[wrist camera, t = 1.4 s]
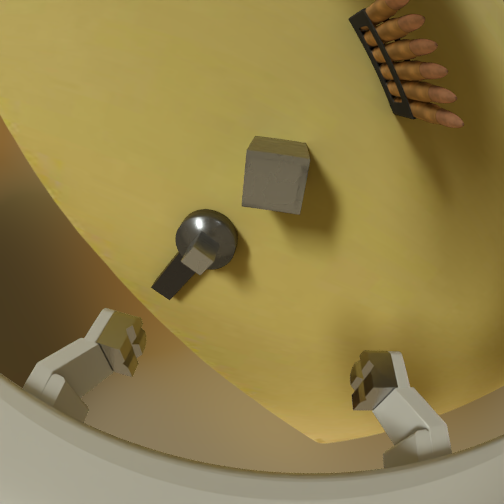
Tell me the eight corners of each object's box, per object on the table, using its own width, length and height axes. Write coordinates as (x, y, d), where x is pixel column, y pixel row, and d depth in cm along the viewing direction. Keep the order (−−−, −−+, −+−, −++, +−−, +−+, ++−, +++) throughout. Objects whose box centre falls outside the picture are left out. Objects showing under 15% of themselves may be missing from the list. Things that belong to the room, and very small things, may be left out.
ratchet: (201, 197, 30) (187, 219, 26) (250, 234, 32) (243, 261, 28) (144, 273, 38) (129, 298, 34) (183, 300, 40) (172, 326, 36)
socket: (255, 135, 26) (246, 149, 21) (305, 143, 26) (310, 159, 21) (250, 181, 29) (241, 206, 24) (297, 188, 28) (299, 214, 24)
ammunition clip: (408, 109, 22) (476, 135, 12) (393, 114, 22) (455, 141, 13) (364, 14, 17) (413, -22, 7) (348, 18, 18) (388, -19, 8)
